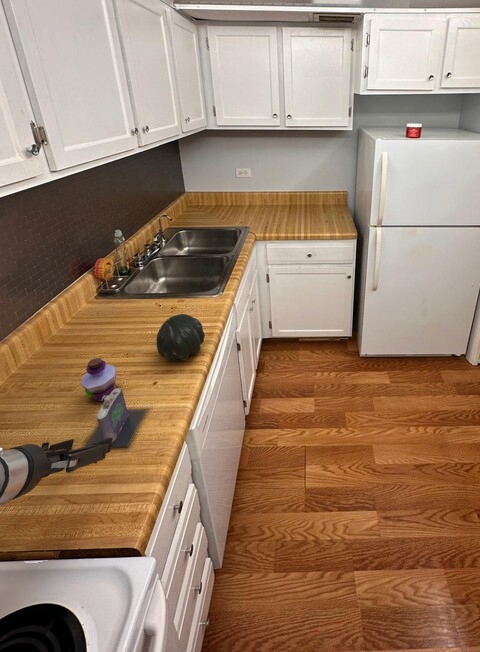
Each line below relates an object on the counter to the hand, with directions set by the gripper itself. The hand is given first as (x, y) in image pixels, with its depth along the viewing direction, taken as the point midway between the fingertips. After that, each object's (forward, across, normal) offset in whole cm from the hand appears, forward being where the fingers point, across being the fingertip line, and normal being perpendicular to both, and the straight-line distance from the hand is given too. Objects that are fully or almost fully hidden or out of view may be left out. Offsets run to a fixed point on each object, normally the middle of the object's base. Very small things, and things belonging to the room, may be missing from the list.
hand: (90, 445), depth 74 cm
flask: (+10, 0, -2) cm, 11 cm away
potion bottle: (+19, +9, -9) cm, 23 cm away
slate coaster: (+11, 0, -2) cm, 11 cm away
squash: (+30, -8, -21) cm, 38 cm away
